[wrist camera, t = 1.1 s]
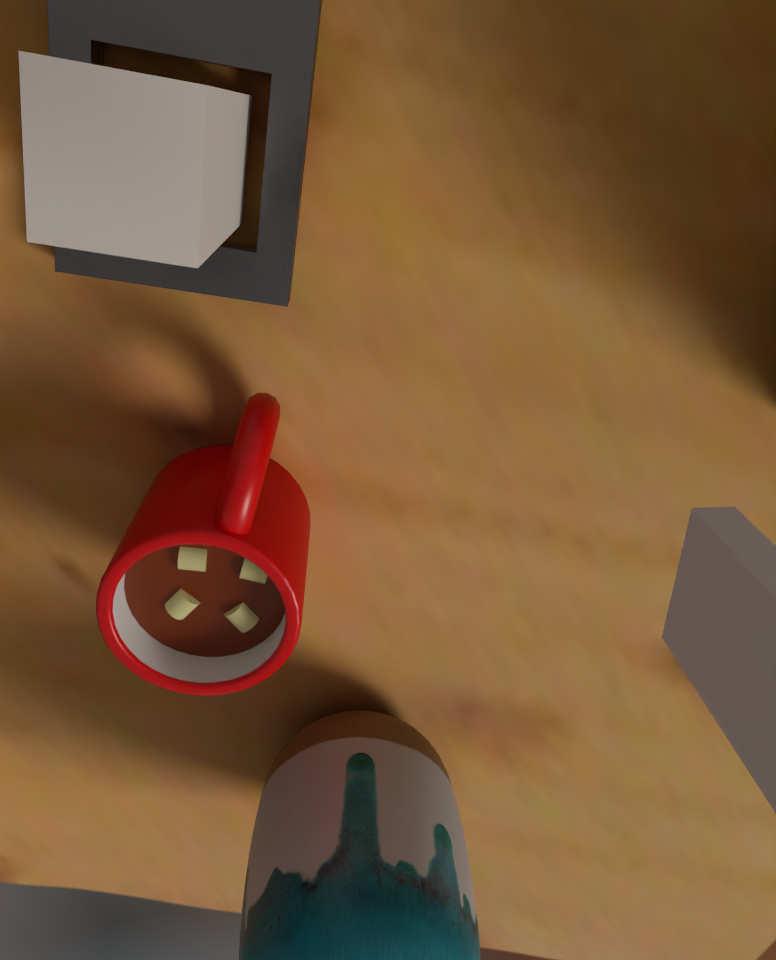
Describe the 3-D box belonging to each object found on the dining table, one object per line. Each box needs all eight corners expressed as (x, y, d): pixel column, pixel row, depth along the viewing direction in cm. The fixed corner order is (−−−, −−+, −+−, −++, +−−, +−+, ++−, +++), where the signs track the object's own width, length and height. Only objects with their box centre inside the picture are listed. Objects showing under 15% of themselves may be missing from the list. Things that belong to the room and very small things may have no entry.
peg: (124, 203, 29) (26, 241, 20) (126, 72, 27) (18, 50, 18) (242, 222, 30) (197, 268, 21) (252, 95, 28) (207, 85, 19)
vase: (242, 792, 44) (175, 1230, 26) (294, 656, 39) (254, 1072, 22) (410, 827, 46) (449, 1255, 28) (476, 701, 41) (569, 1114, 24)
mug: (353, 389, 33) (355, 463, 26) (288, 603, 38) (274, 714, 31) (177, 339, 32) (128, 403, 25) (132, 568, 37) (81, 675, 30)
